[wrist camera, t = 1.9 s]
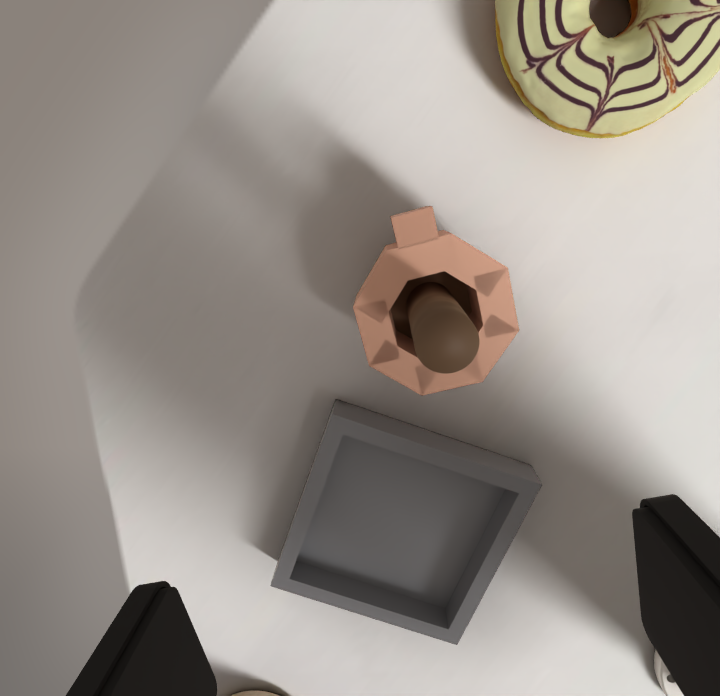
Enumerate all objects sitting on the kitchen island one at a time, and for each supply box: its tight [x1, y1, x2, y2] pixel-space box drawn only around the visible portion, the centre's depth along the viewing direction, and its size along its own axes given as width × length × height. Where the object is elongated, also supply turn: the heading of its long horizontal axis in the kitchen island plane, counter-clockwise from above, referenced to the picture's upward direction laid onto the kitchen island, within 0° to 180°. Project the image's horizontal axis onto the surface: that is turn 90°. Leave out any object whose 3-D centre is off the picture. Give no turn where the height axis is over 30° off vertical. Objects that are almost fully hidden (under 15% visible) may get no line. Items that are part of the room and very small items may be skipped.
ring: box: [353, 206, 519, 395], centre depth 23 cm, size 7×8×3 cm
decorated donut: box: [495, 0, 720, 138], centre depth 22 cm, size 10×11×4 cm
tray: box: [271, 399, 542, 645], centre depth 31 cm, size 13×13×2 cm
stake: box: [391, 271, 479, 374], centre depth 23 cm, size 6×6×10 cm
